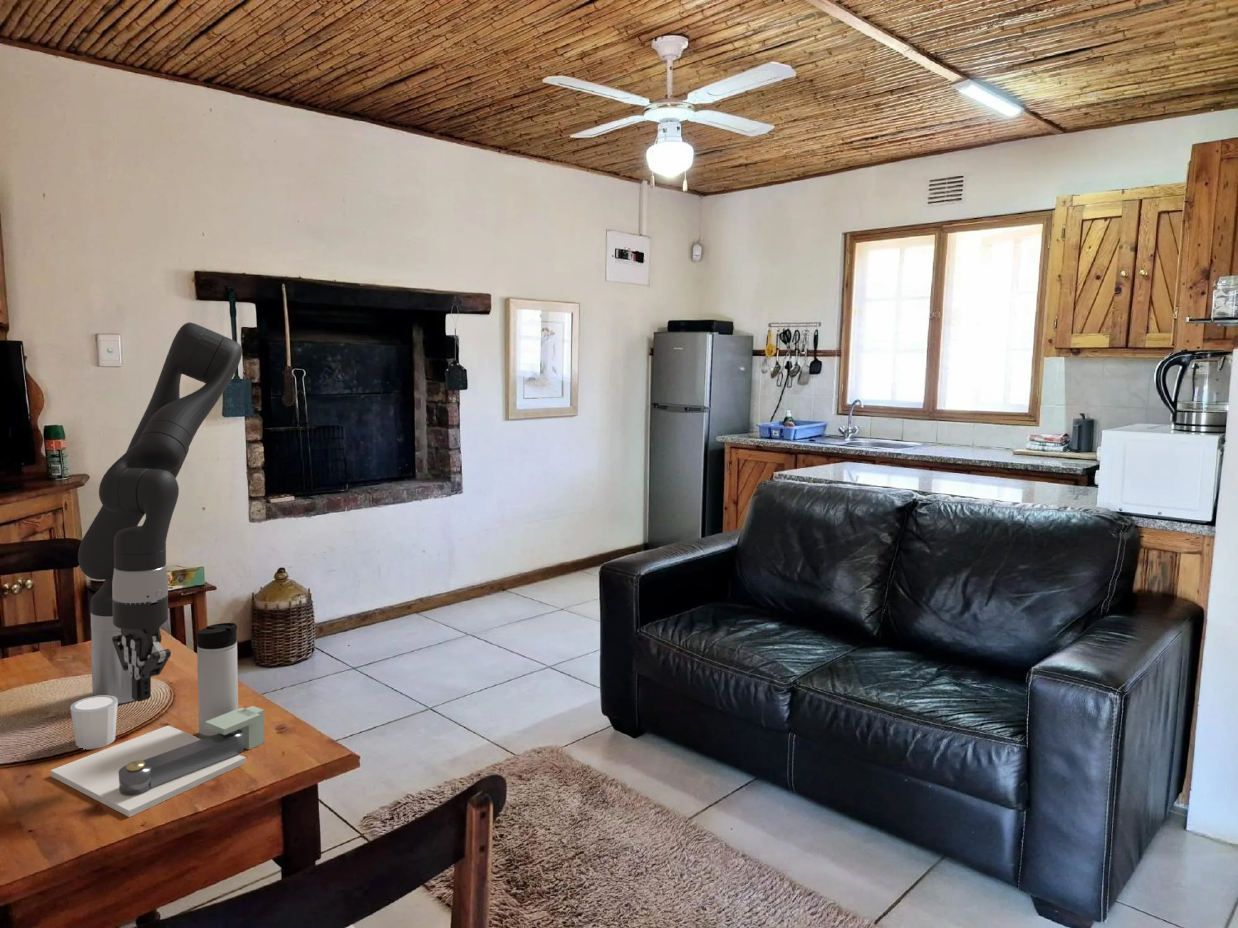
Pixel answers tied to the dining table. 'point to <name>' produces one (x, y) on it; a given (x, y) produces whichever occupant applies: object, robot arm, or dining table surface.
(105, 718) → the white cup
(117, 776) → the base plate
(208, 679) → the travel mug
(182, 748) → the link
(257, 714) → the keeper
